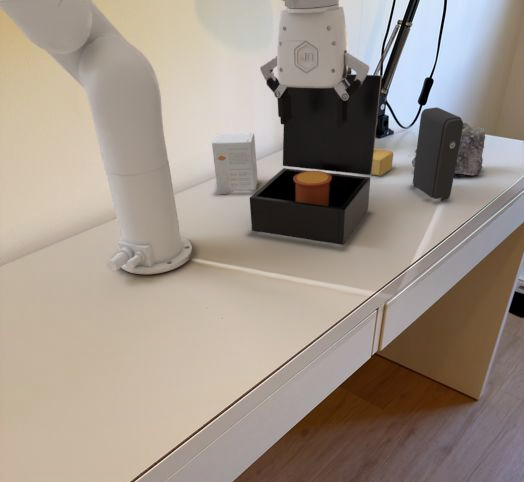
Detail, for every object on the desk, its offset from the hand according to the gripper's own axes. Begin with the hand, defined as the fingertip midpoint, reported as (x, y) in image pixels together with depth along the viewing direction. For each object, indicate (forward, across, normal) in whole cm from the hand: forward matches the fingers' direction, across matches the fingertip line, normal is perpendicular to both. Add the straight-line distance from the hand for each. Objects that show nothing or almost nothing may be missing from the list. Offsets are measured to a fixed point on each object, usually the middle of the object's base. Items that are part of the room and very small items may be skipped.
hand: (313, 123), depth 85 cm
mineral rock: (+18, +18, +32) cm, 41 cm away
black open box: (+17, 0, -1) cm, 17 cm away
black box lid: (+2, 0, +7) cm, 8 cm away
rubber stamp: (+18, +1, +29) cm, 34 cm away
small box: (+17, -21, +10) cm, 29 cm away
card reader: (+18, +17, +19) cm, 31 cm away
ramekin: (+16, 0, -1) cm, 16 cm away
